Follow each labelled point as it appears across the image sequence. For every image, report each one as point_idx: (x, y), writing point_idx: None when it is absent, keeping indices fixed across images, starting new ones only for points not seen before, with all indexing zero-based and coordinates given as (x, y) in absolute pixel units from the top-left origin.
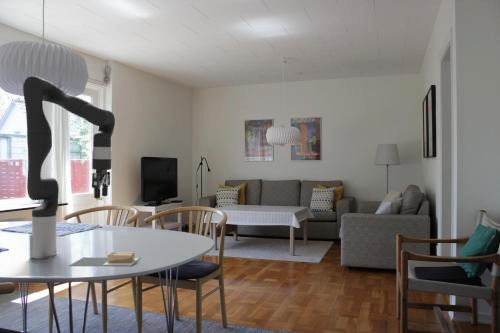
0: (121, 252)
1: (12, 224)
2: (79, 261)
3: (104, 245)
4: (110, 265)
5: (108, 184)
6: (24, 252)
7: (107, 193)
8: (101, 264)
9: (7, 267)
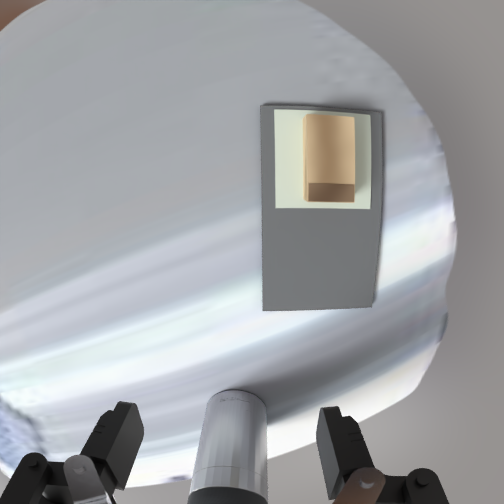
0: (309, 164)
1: None
2: (318, 300)
3: (72, 308)
4: (373, 182)
5: (65, 473)
6: None
7: (116, 413)
8: (360, 215)
9: None
